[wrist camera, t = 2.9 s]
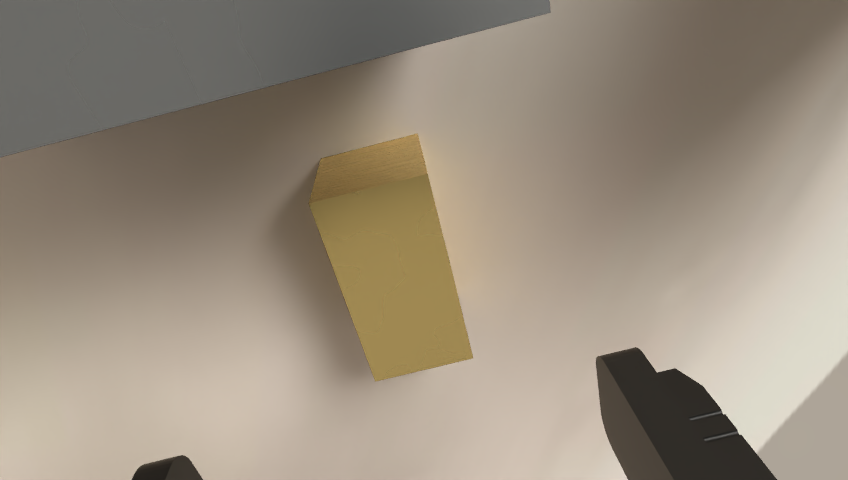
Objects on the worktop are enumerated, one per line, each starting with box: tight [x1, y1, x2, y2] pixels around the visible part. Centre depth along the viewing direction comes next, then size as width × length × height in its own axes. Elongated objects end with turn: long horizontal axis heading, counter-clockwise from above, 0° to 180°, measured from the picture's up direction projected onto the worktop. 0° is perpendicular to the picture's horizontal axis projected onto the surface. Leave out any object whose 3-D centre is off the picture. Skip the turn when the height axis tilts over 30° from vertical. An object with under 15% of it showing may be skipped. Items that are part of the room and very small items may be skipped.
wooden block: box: [309, 134, 473, 382], centre depth 16 cm, size 3×6×4 cm, turn 13°
